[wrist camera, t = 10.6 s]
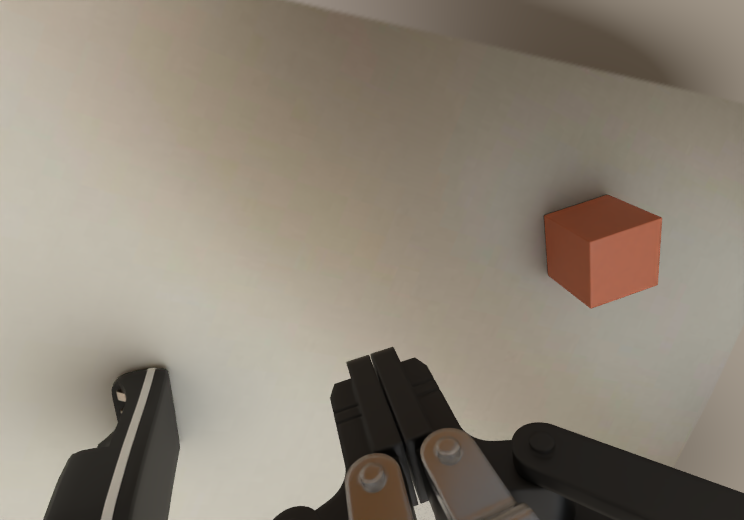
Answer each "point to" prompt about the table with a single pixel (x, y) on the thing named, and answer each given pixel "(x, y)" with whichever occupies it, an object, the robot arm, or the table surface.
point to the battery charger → (125, 458)
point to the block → (603, 249)
